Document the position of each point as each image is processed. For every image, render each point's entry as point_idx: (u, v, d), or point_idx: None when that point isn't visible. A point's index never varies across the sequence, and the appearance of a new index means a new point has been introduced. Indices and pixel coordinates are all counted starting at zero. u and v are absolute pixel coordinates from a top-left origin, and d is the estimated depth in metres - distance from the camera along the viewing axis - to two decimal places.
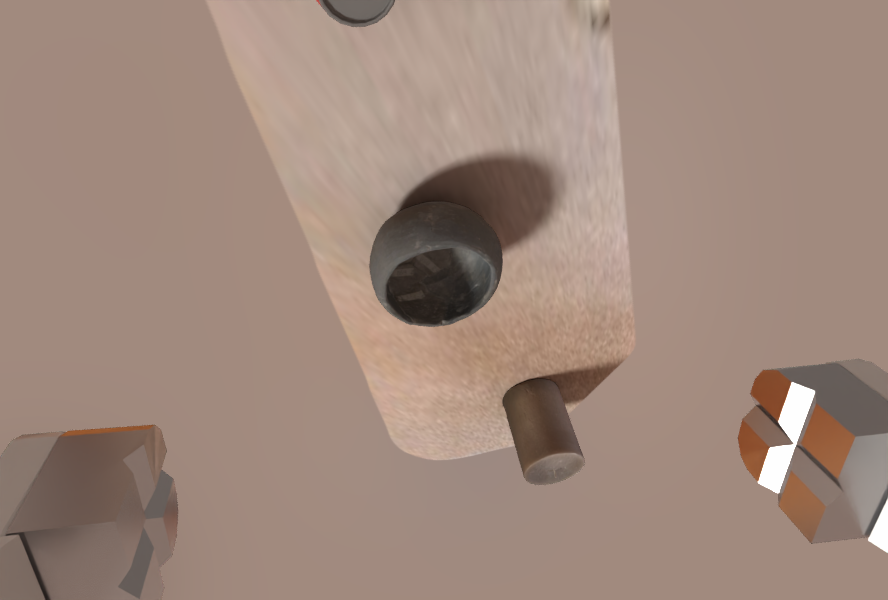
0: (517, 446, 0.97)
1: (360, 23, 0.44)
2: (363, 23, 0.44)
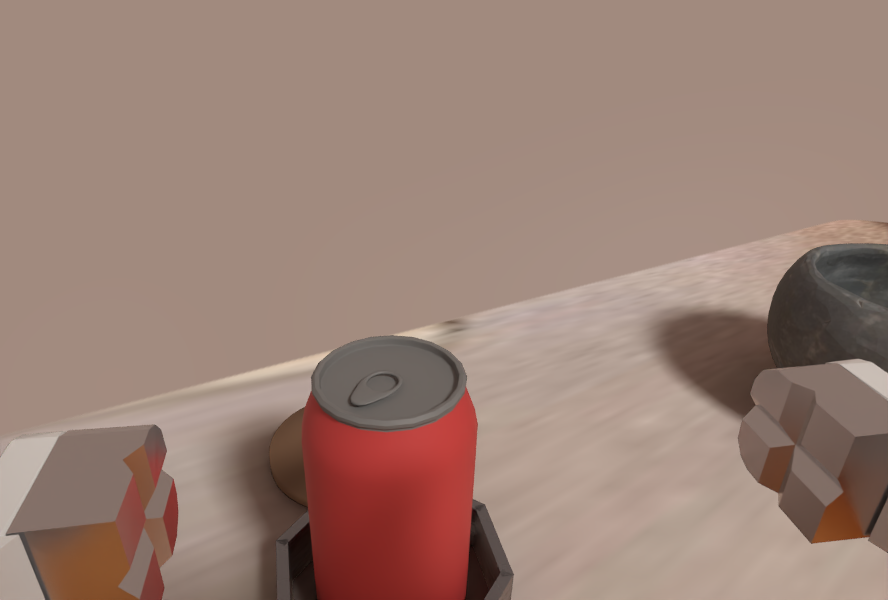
0: None
1: (456, 366, 0.23)
2: (455, 364, 0.23)
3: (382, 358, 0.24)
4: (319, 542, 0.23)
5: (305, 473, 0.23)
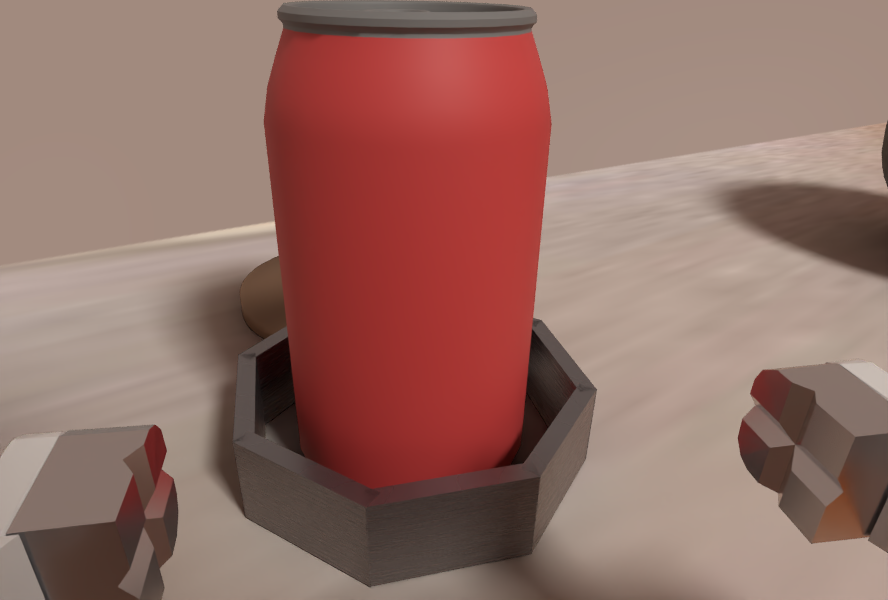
0: None
1: (517, 7, 0.14)
2: (515, 8, 0.14)
3: None
4: (297, 305, 0.15)
5: (272, 184, 0.14)
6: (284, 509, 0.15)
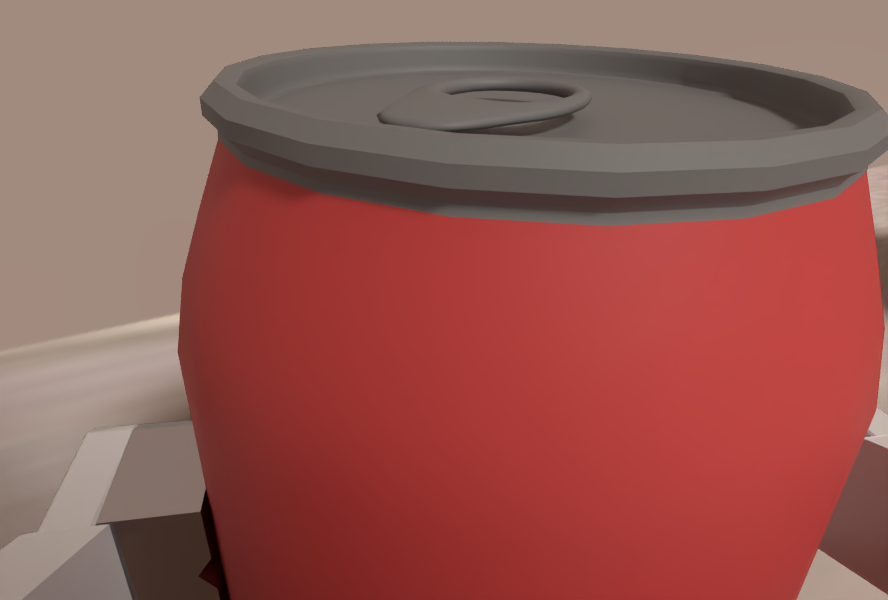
0: None
1: (769, 72, 0.06)
2: (756, 71, 0.06)
3: None
4: None
5: (204, 476, 0.06)
6: None
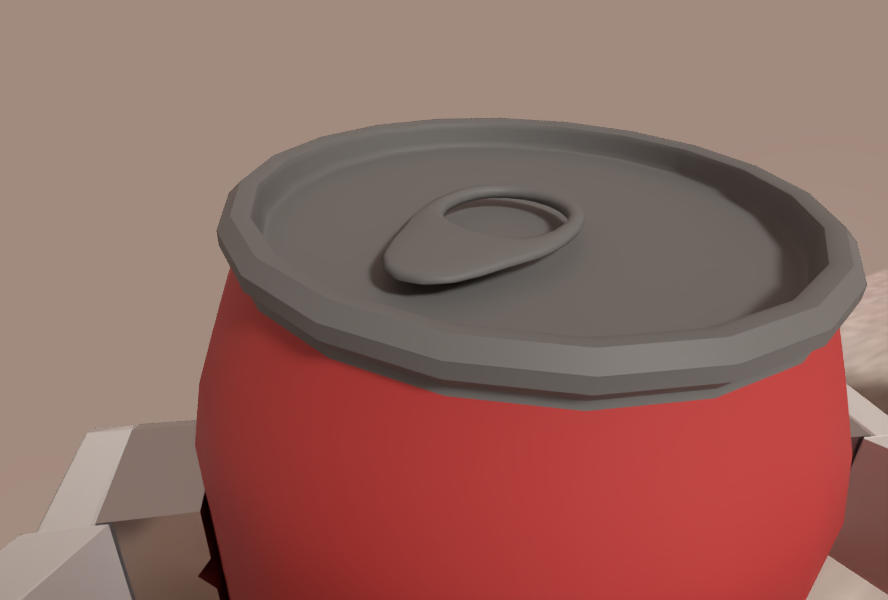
0: None
1: (759, 178, 0.06)
2: (748, 174, 0.07)
3: (480, 170, 0.07)
4: None
5: (219, 550, 0.07)
6: None
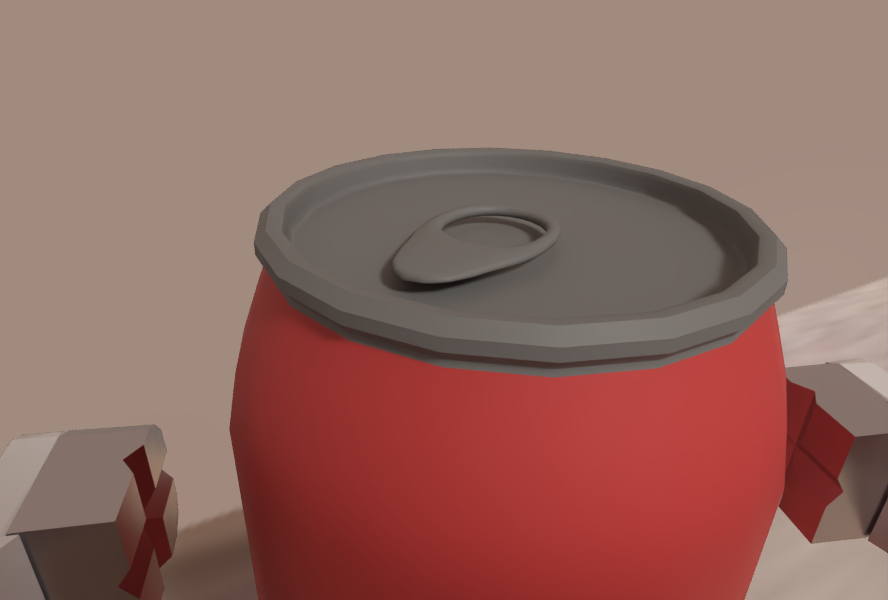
0: None
1: (712, 197, 0.07)
2: (703, 194, 0.08)
3: (474, 193, 0.08)
4: None
5: (247, 524, 0.08)
6: None
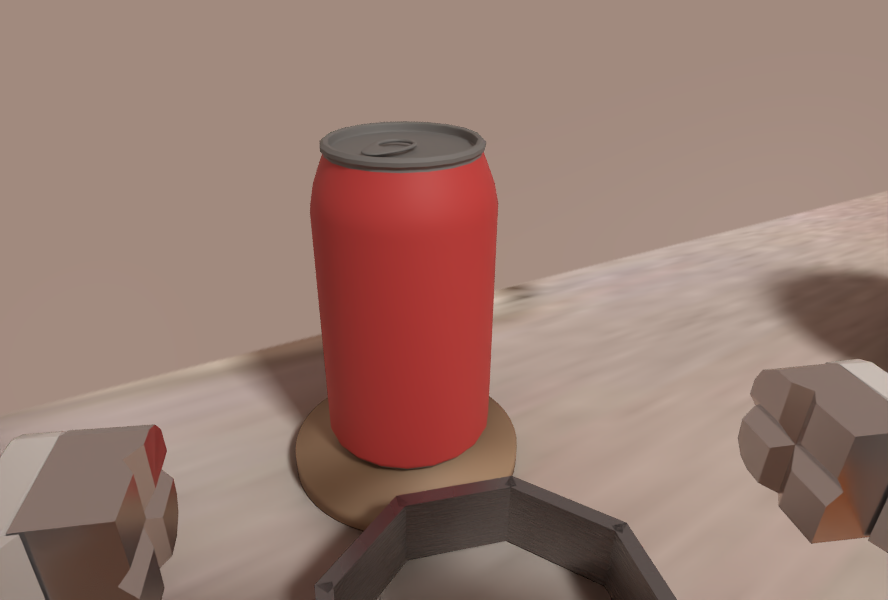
0: None
1: (474, 135, 0.21)
2: (473, 134, 0.22)
3: (395, 137, 0.22)
4: (330, 330, 0.22)
5: (314, 252, 0.22)
6: None
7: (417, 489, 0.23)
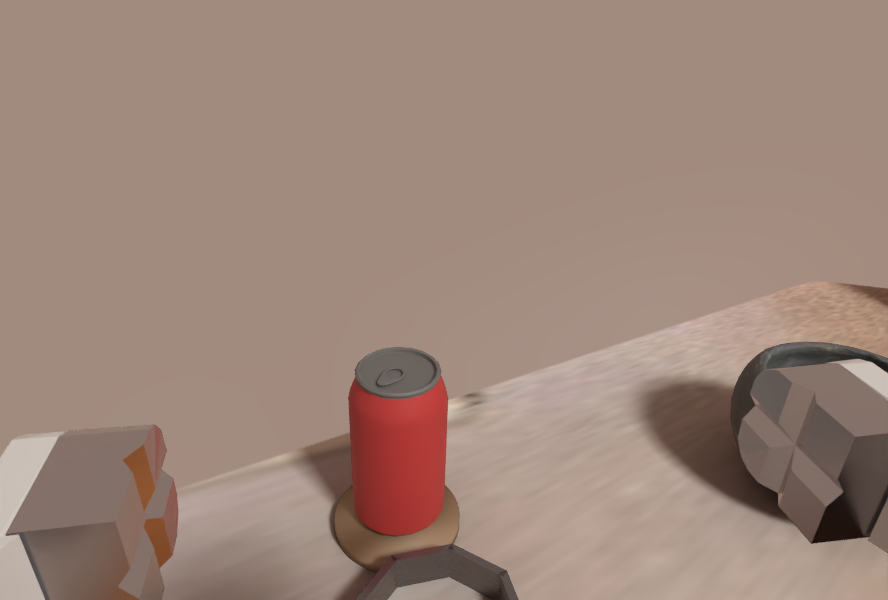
0: None
1: (435, 365, 0.41)
2: (435, 363, 0.41)
3: (394, 360, 0.42)
4: (358, 464, 0.41)
5: (350, 424, 0.41)
6: None
7: (402, 547, 0.43)
